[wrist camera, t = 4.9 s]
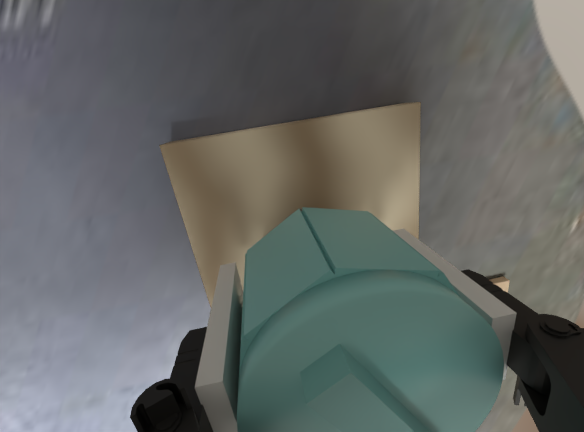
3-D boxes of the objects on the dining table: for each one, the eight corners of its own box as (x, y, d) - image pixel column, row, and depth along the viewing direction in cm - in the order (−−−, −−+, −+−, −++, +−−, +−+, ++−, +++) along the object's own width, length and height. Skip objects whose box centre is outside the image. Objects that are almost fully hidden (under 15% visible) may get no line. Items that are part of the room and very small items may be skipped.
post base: (227, 329, 21) (205, 500, 12) (170, 141, 16) (53, 180, 7) (403, 292, 22) (513, 423, 13) (402, 103, 17) (582, 90, 8)
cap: (208, 281, 12) (161, 459, 6) (341, 173, 11) (453, 246, 5) (309, 368, 15) (352, 557, 8) (424, 285, 14) (567, 426, 8)
